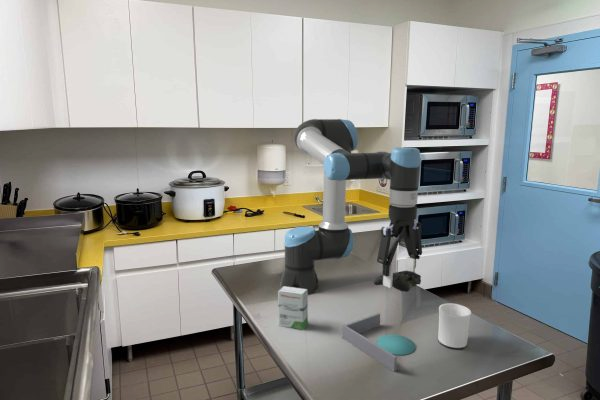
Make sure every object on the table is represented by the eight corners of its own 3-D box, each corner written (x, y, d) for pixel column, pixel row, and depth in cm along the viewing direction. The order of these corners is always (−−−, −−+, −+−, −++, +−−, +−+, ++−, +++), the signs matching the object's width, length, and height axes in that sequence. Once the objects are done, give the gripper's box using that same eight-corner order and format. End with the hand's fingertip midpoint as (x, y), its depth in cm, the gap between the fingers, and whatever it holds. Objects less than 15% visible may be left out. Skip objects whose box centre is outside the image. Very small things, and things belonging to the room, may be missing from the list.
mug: (465, 353, 117) (468, 319, 115) (433, 344, 122) (435, 312, 120) (472, 337, 126) (475, 305, 124) (442, 329, 131) (444, 298, 129)
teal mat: (368, 342, 123) (368, 341, 123) (394, 331, 129) (394, 330, 129) (396, 359, 114) (396, 358, 114) (423, 347, 120) (423, 346, 120)
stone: (375, 280, 124) (376, 263, 123) (421, 286, 120) (422, 268, 119) (370, 288, 118) (371, 270, 117) (418, 295, 113) (419, 276, 112)
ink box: (308, 323, 134) (308, 288, 132) (303, 330, 130) (303, 294, 127) (283, 319, 137) (283, 284, 135) (277, 325, 132) (277, 290, 130)
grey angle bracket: (342, 337, 125) (342, 325, 125) (377, 324, 134) (378, 312, 133) (393, 371, 109) (394, 357, 108) (431, 354, 117) (432, 341, 116)
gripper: (385, 211, 105) (381, 296, 109) (439, 202, 117) (433, 279, 121) (365, 206, 111) (362, 286, 115) (417, 198, 123) (413, 271, 127)
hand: (398, 282), depth 118 cm, fingers closed on stone, 8 cm apart
